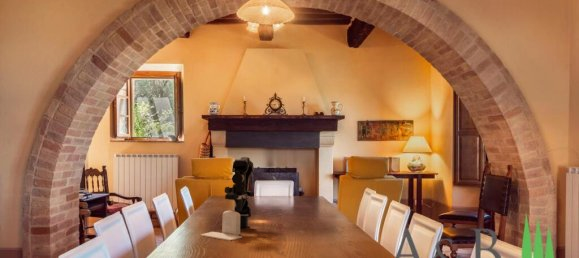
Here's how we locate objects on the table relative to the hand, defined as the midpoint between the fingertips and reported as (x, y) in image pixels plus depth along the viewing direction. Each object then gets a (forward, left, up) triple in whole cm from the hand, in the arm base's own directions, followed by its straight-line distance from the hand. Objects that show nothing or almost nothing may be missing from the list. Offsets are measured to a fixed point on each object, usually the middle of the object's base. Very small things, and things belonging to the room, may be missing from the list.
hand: (239, 211), depth 244 cm
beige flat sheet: (+15, 0, -11) cm, 19 cm away
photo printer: (+7, 0, -12) cm, 14 cm away
